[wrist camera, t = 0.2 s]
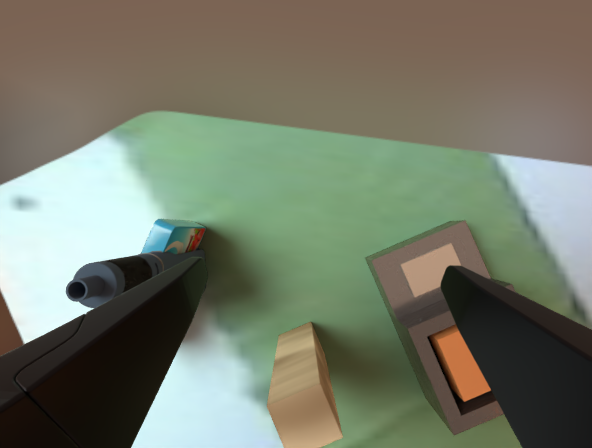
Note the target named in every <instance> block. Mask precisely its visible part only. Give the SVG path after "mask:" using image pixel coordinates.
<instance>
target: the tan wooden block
mask: <svg viewBox="0 0 592 448" xmlns="http://www.w3.org/2000/svg"><path fill="white" fill-rule="evenodd" d="M267 408H268V410H269V413H270V415H271V417H272V420H273V422H274V424H275V427H276V429H277V432H278V434H279V436H280V439H281V441H282V444H283V446H284V448H320V447H322V446H324V445H327V444H329V443H331V442H334V441H336V440H338V439H341V438H343V436H342V431H341V426H340V422H339V417H338V413H337V408H336V403H335V399H334V394H333V390H332V385H331V381H330V376H329V371H328V367H327V362H326V358H325V353H324V351H323V349H322V346H321V344H320V342H319V339H318V337H317V335H316V332H315V330H314V328H313V325H312V323H311V322H309V323H306V324H304V325H302V326H299V327H297V328H295V329H292V330H290V331H288V332H285V333H283V334H281V335H279V338H278V344H277V350H276V356H275V362H274V367H273V373H272V379H271V385H270V391H269V397H268V403H267Z"/></svg>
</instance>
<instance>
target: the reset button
mask: <svg viewBox="0 0 592 448" xmlns="http://www.w3.org/2000/svg"><path fill="white" fill-rule="evenodd" d="M429 338H430V340H431V342H432V345H433V347H434V349H435V352H436V354H437V356H438V358H439V361H440V363H441V365H442V368H443V370H444V372H445V374H446V377H447V379H448V381H449V384H450V386H451V388H452V390H453V391H454V392H455V393H456V394H457V395H458V396H459V397H460V398H461V399H462V400H463V401H464V402H465V401H467V400H470V399H472V398H474V397H477V396H479V395H481V394H484V393H486V392H488V391H491V389H490V387H489V385H488V384H487V382H486V380H485V378H484V376H483V374H482V373H481V371H480V369H479V367H478V365H477V363H476V362H475V360H474V358H473V356H472V354H471V352H470V351H469V349H468V347H467V345H466V343H465V341H464V340H463V338H462V336H461V334H460V332H459V330H458V328H457V326H456V324H455V325H453V326H450V327H448V328H446V329H443V330H441V331H439V332H436V333H434V334H432V335H429Z"/></svg>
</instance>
